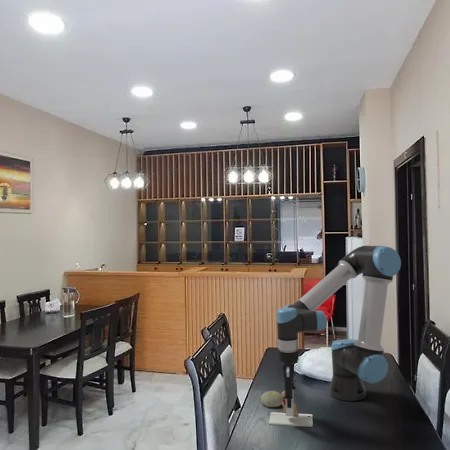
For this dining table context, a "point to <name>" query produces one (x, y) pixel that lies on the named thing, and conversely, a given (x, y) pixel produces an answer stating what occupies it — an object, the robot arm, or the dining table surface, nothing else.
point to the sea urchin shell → (271, 399)
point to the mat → (291, 420)
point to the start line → (285, 414)
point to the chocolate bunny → (295, 408)
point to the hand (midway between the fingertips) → (290, 411)
